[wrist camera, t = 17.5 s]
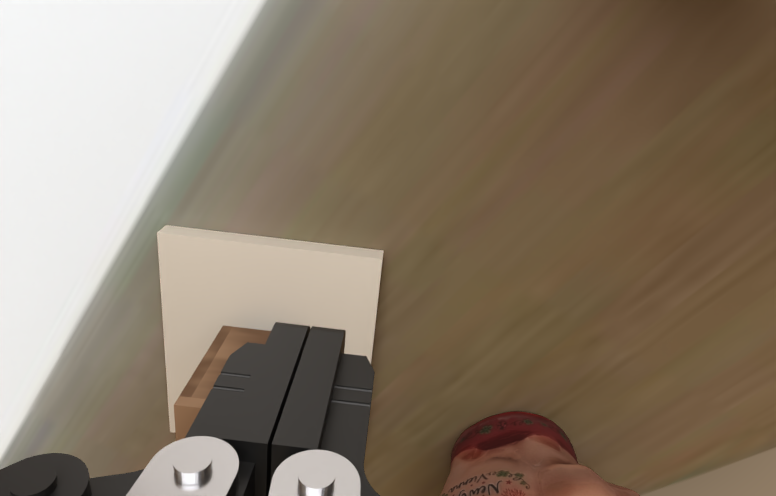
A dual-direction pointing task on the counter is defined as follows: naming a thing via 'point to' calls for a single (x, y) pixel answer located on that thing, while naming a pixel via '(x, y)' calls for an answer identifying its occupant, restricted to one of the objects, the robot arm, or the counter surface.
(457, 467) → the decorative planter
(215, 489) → the robot arm
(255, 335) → the brown wooden block
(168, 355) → the post board
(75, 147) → the counter surface
